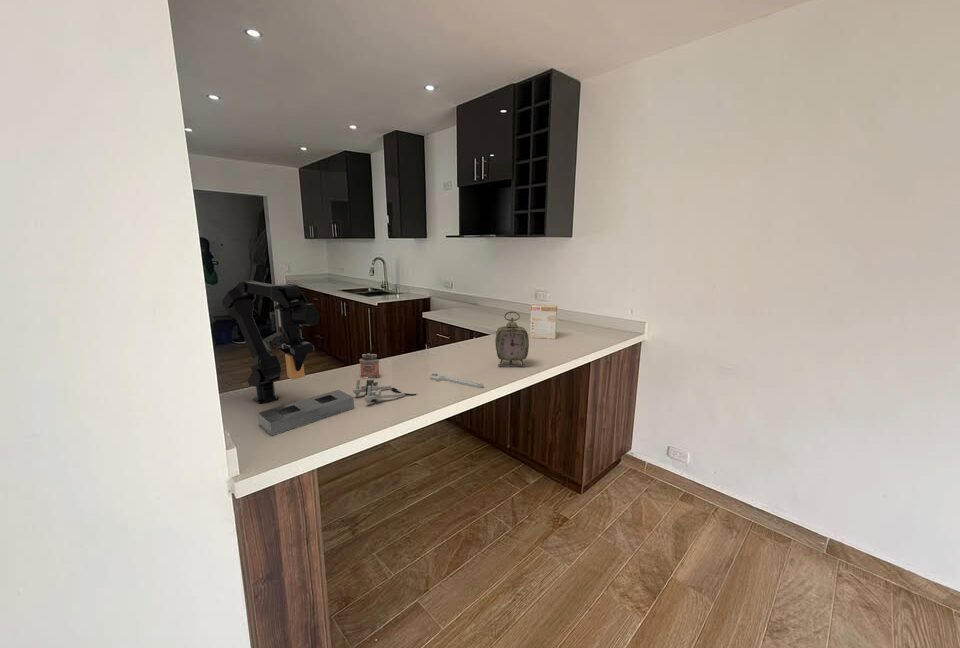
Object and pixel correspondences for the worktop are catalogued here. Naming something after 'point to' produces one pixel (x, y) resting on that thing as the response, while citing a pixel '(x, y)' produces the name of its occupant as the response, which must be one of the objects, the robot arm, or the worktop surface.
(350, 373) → the worktop surface
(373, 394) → the bike brake
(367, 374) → the red labelled jar
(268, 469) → the worktop surface
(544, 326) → the coffeecake box
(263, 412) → the block with square holes
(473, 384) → the adjustable wrench
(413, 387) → the worktop surface
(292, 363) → the square peg
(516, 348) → the tabletop clock
